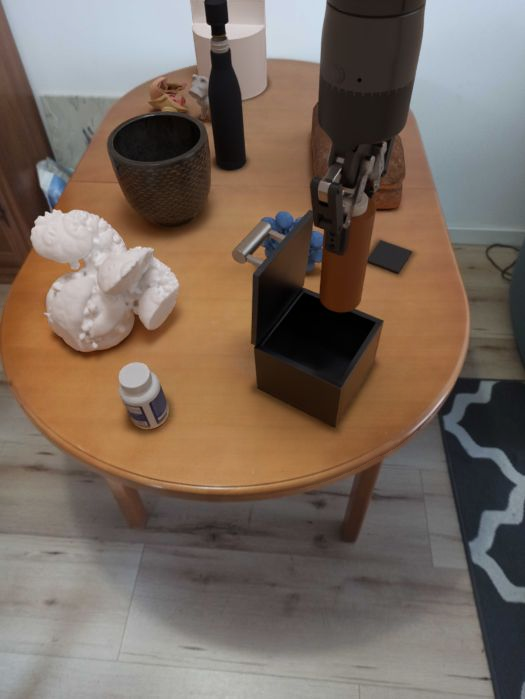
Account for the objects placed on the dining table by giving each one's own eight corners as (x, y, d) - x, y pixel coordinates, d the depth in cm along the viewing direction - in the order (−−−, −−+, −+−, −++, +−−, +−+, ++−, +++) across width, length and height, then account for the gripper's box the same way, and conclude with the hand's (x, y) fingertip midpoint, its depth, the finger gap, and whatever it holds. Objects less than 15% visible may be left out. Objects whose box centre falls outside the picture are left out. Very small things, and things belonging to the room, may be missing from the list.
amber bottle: (368, 291, 61) (385, 192, 50) (349, 318, 58) (364, 220, 47) (330, 276, 63) (340, 177, 52) (311, 302, 60) (317, 204, 49)
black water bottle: (246, 169, 106) (234, 6, 82) (215, 171, 106) (195, 8, 83) (246, 152, 110) (234, -8, 86) (216, 154, 110) (197, -6, 87)
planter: (176, 255, 91) (158, 177, 78) (110, 221, 98) (84, 144, 85) (235, 206, 99) (228, 128, 86) (171, 177, 106) (155, 101, 93)
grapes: (253, 284, 86) (249, 227, 76) (260, 257, 90) (257, 200, 80) (321, 290, 84) (326, 234, 75) (326, 263, 88) (330, 206, 79)
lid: (315, 211, 60) (273, 193, 62) (258, 276, 54) (214, 254, 56) (303, 285, 71) (268, 268, 73) (255, 346, 65) (218, 326, 67)
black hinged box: (374, 363, 75) (384, 320, 67) (335, 428, 69) (341, 389, 61) (300, 330, 79) (301, 286, 72) (257, 388, 73) (253, 347, 65)
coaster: (411, 253, 89) (412, 251, 89) (398, 274, 86) (398, 271, 86) (380, 242, 91) (380, 239, 91) (365, 262, 88) (366, 259, 88)
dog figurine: (188, 125, 118) (180, 78, 110) (222, 102, 124) (217, 55, 116) (205, 132, 116) (199, 84, 108) (239, 107, 122) (235, 61, 114)
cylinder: (208, 67, 136) (193, -64, 113) (272, 70, 133) (269, -63, 111) (192, 99, 125) (172, -38, 103) (261, 103, 123) (255, -37, 101)
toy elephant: (191, 124, 119) (159, 104, 112) (165, 134, 126) (133, 116, 119) (197, 87, 120) (165, 65, 113) (170, 99, 127) (138, 79, 119)
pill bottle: (162, 391, 73) (148, 351, 66) (174, 420, 70) (160, 382, 63) (126, 406, 72) (107, 366, 64) (137, 436, 69) (118, 398, 61)
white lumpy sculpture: (-16, 308, 72) (51, 186, 72) (75, 332, 91) (129, 236, 90) (75, 373, 66) (149, 240, 65) (153, 385, 85) (211, 282, 84)
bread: (313, 213, 97) (316, 159, 88) (309, 131, 114) (311, 79, 105) (403, 212, 96) (415, 158, 87) (385, 129, 114) (394, 77, 104)
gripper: (374, 119, 35) (350, 291, 48) (446, 39, 42) (407, 208, 55) (280, 94, 37) (282, 264, 51) (363, 23, 45) (345, 189, 58)
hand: (347, 234), depth 53 cm, fingers closed on amber bottle, 5 cm apart
